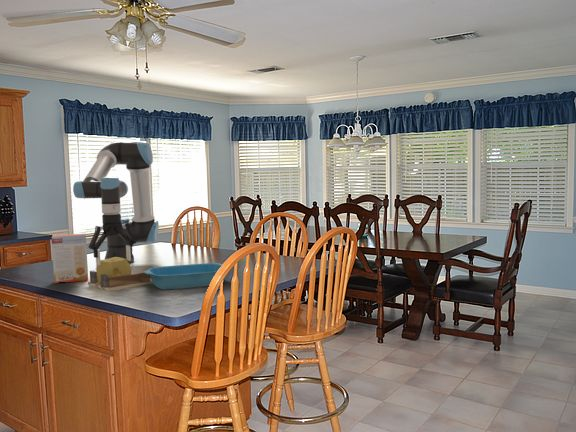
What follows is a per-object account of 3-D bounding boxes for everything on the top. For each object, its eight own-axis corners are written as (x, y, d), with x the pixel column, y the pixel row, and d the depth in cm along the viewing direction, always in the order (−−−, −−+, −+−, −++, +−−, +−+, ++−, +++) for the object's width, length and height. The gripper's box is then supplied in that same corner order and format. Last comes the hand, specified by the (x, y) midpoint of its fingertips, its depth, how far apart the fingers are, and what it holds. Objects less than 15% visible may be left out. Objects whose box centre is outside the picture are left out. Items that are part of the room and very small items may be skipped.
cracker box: (88, 278, 236) (86, 233, 234) (88, 281, 230) (85, 234, 229) (54, 281, 231) (52, 234, 229) (53, 283, 226) (51, 236, 224)
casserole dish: (223, 275, 240) (222, 260, 239) (238, 285, 220) (237, 268, 219) (141, 283, 226) (141, 267, 225) (149, 294, 205) (148, 276, 205)
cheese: (132, 281, 224) (131, 258, 223) (111, 286, 215) (110, 262, 214) (116, 278, 230) (115, 256, 229) (95, 283, 221) (94, 260, 220)
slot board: (87, 283, 225) (87, 270, 224) (146, 274, 244) (146, 261, 243) (107, 291, 210) (106, 276, 210) (168, 280, 229) (168, 267, 229)
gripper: (85, 216, 209) (88, 268, 211) (142, 211, 226) (144, 259, 228) (78, 215, 214) (81, 265, 217) (134, 210, 231) (136, 257, 233)
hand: (113, 262), depth 222 cm, fingers open, 13 cm apart
